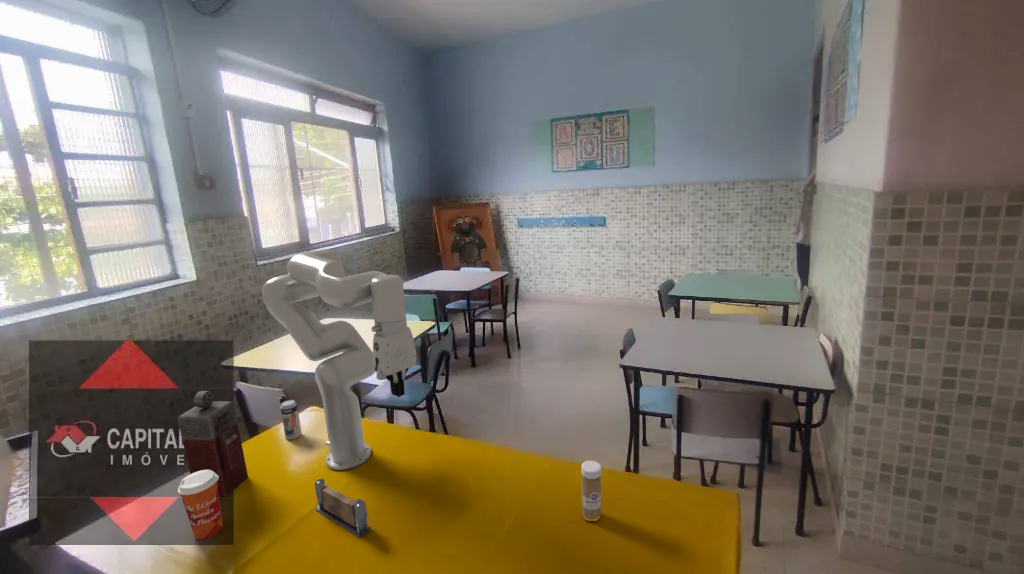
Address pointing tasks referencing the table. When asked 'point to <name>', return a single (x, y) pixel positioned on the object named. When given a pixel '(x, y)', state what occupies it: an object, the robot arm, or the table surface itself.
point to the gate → (339, 505)
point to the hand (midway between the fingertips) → (398, 394)
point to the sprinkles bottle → (591, 489)
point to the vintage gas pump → (214, 441)
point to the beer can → (290, 419)
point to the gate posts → (360, 515)
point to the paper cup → (202, 503)
